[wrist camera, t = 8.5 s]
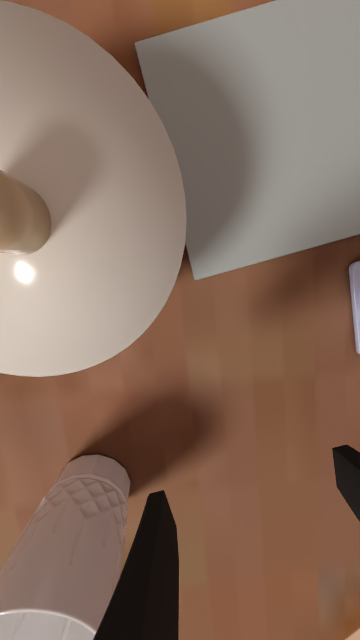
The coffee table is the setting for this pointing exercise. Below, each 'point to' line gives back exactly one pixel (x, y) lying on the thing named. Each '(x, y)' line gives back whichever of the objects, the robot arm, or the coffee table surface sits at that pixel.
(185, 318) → the coffee table surface
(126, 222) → the lid
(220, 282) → the coffee table surface
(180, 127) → the mat
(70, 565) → the white cup
